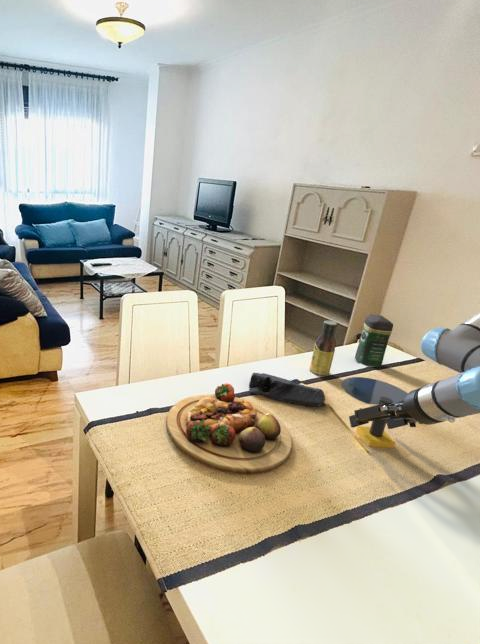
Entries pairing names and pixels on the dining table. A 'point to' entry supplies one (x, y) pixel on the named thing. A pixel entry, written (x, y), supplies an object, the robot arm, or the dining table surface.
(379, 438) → the sponge wand
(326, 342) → the sauce bottle
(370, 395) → the plate
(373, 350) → the coffee jar
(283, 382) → the dark folded cloth
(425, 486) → the dining table surface
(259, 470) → the wooden plate
